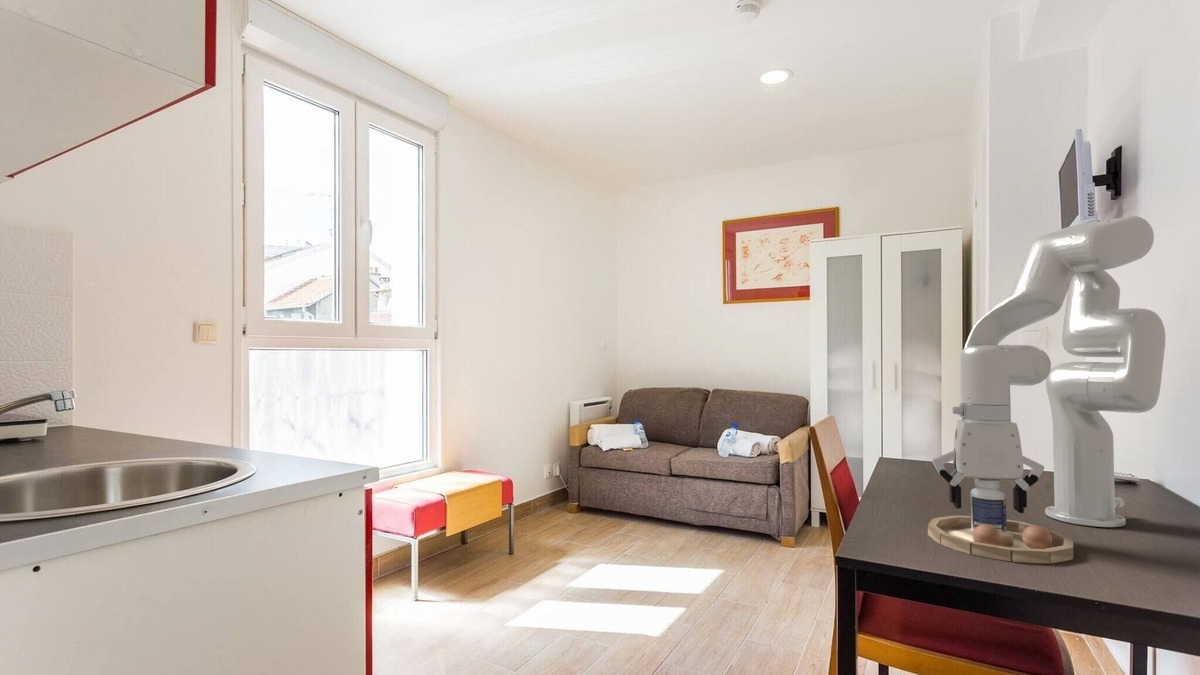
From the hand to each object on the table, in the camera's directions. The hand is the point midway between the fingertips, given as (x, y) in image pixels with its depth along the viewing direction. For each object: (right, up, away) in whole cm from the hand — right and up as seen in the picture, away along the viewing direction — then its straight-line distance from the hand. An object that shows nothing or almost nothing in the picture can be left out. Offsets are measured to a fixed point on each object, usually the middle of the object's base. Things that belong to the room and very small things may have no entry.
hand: (987, 509), depth 108 cm
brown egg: (-6, -4, -9) cm, 12 cm away
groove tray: (-2, -5, -5) cm, 8 cm away
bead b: (+2, -4, -10) cm, 11 cm away
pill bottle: (0, -5, 0) cm, 5 cm away
